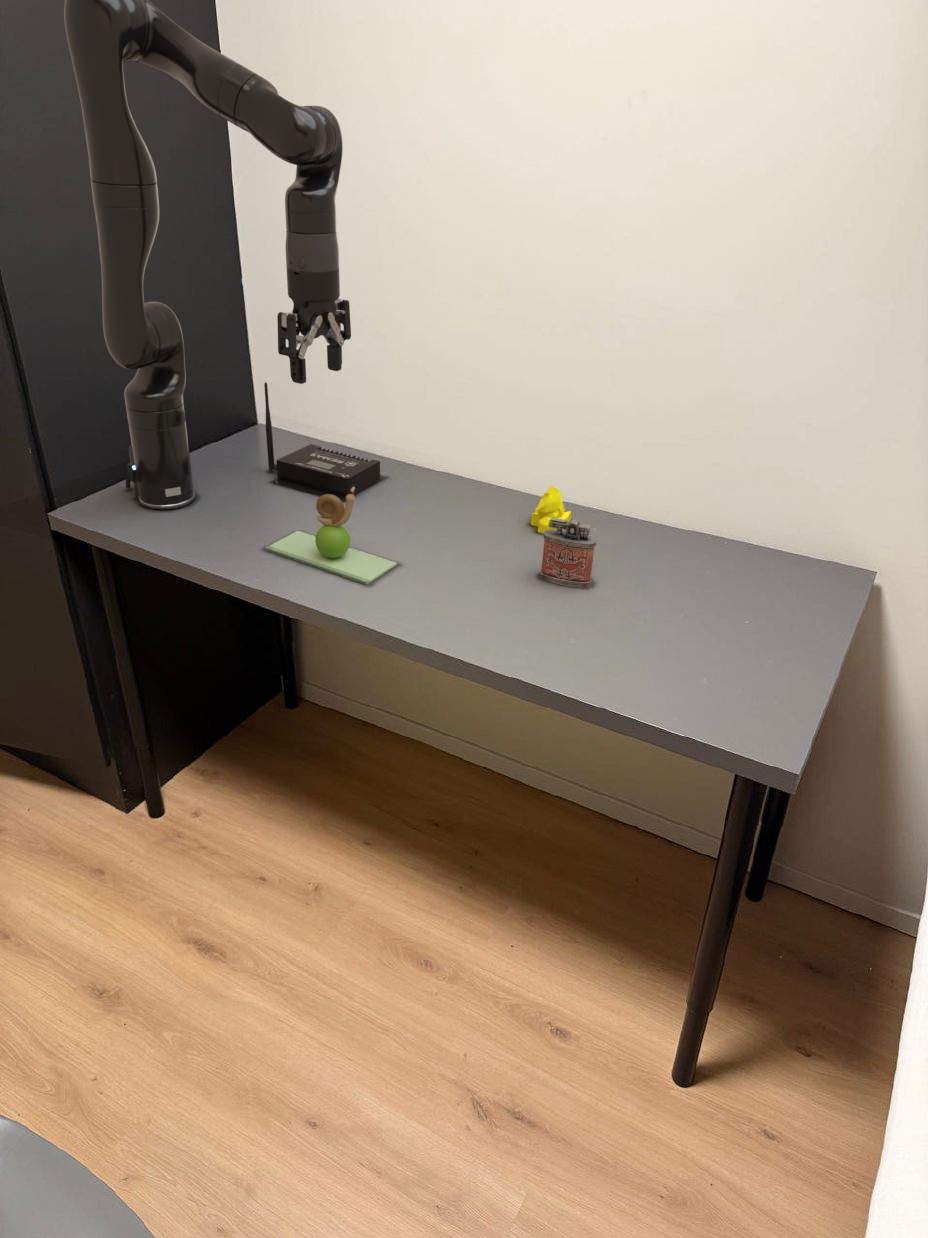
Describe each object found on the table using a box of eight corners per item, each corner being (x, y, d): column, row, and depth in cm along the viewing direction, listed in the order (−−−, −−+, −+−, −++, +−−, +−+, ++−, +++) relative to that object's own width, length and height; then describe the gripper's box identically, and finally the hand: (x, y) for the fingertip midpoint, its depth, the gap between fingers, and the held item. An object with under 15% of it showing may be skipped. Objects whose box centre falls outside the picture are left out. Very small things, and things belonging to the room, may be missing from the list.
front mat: (265, 550, 147) (265, 547, 147) (297, 532, 153) (297, 529, 153) (366, 584, 138) (366, 581, 138) (397, 565, 144) (397, 562, 144)
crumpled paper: (574, 520, 162) (578, 478, 158) (558, 537, 156) (562, 494, 152) (543, 512, 164) (547, 471, 160) (526, 529, 158) (529, 487, 154)
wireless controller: (385, 477, 175) (384, 388, 166) (342, 502, 164) (339, 408, 156) (300, 455, 183) (296, 369, 174) (254, 477, 172) (247, 387, 163)
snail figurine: (350, 566, 142) (349, 494, 136) (311, 561, 143) (307, 489, 137) (361, 551, 147) (359, 481, 141) (322, 546, 148) (319, 476, 142)
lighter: (593, 580, 143) (600, 521, 138) (588, 589, 140) (595, 530, 135) (542, 570, 145) (548, 512, 140) (537, 579, 142) (542, 520, 137)
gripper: (323, 254, 139) (327, 362, 147) (259, 267, 129) (267, 382, 137) (363, 261, 136) (364, 370, 144) (301, 274, 125) (306, 391, 134)
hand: (317, 376), depth 141 cm, fingers open, 8 cm apart
